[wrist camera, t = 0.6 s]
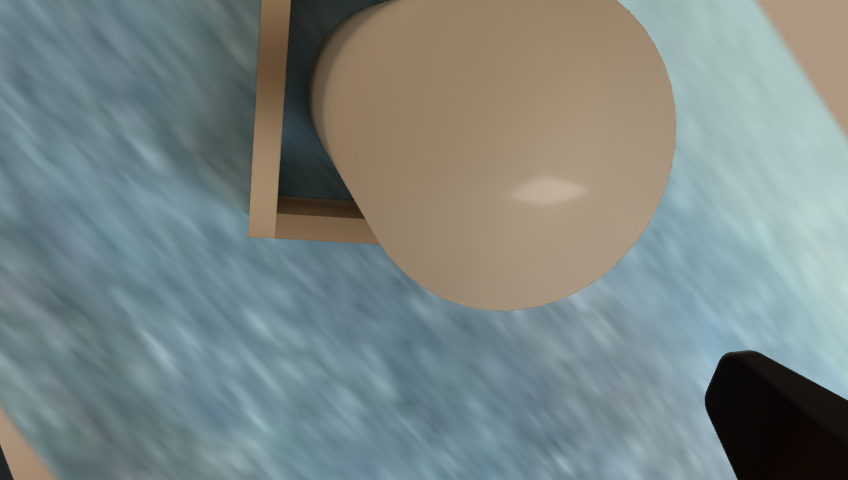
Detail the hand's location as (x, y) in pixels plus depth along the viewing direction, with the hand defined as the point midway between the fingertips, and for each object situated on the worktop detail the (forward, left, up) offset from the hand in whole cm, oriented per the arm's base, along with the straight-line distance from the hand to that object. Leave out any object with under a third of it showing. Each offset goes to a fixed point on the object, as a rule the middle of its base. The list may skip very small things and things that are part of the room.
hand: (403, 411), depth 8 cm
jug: (+2, -3, -16) cm, 16 cm away
